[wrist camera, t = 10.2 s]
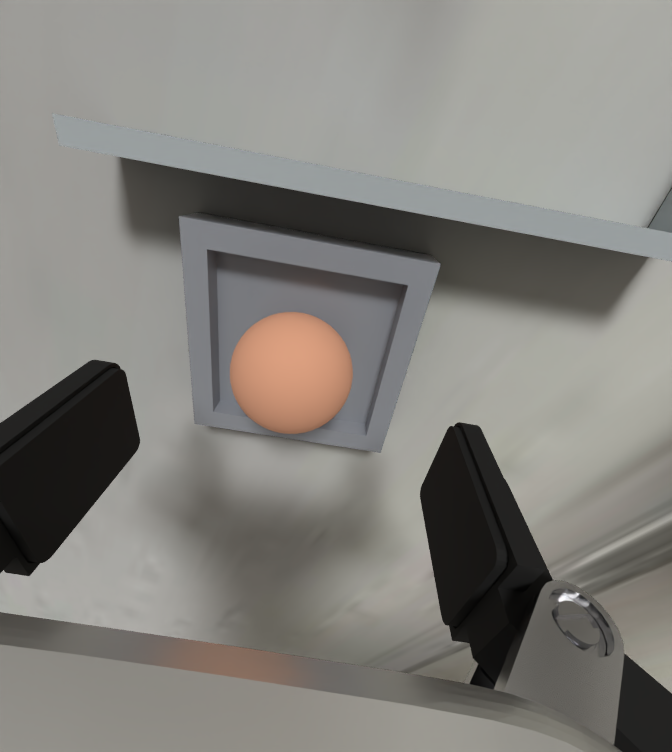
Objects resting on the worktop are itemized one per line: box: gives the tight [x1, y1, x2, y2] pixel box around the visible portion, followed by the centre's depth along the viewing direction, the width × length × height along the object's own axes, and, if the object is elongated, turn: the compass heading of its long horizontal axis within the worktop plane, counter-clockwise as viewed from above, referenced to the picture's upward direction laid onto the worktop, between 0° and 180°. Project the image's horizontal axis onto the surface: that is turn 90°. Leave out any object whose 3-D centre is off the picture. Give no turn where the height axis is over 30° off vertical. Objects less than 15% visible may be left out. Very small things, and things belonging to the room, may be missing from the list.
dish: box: [179, 212, 441, 453], centre depth 16 cm, size 10×10×2 cm
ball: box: [230, 312, 353, 434], centre depth 14 cm, size 5×5×5 cm
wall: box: [52, 113, 672, 261], centre depth 10 cm, size 22×6×3 cm, turn 81°
